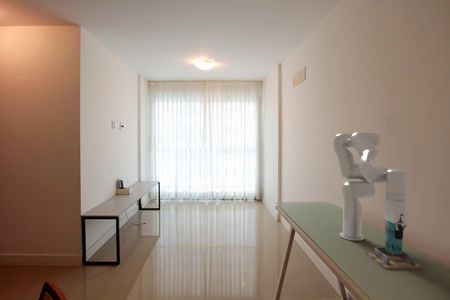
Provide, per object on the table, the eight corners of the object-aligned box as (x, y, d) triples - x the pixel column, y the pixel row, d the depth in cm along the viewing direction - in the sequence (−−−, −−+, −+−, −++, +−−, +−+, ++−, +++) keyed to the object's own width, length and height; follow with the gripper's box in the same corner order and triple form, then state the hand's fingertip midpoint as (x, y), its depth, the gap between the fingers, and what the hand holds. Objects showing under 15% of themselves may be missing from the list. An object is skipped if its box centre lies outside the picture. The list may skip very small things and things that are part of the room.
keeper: (366, 253, 131) (366, 245, 131) (399, 254, 131) (400, 246, 131) (384, 269, 116) (385, 259, 115) (423, 270, 115) (423, 260, 115)
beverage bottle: (386, 250, 128) (387, 208, 127) (402, 254, 124) (404, 210, 123) (383, 255, 123) (385, 211, 122) (401, 259, 118) (402, 213, 118)
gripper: (376, 193, 131) (375, 229, 132) (398, 200, 114) (397, 243, 114) (392, 193, 131) (391, 230, 132) (416, 201, 114) (415, 243, 114)
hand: (393, 235), depth 123 cm, fingers closed on beverage bottle, 6 cm apart
